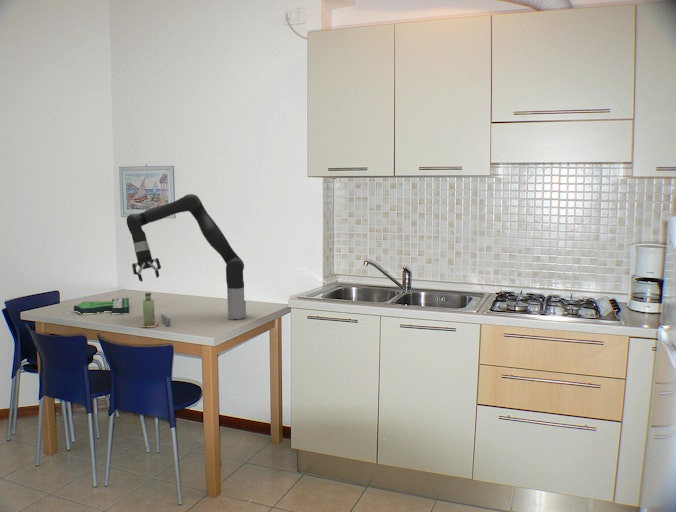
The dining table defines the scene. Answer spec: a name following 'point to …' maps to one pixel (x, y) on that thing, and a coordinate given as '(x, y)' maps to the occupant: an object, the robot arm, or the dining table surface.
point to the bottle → (148, 310)
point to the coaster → (149, 326)
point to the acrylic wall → (165, 319)
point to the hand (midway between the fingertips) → (149, 279)
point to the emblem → (104, 306)
